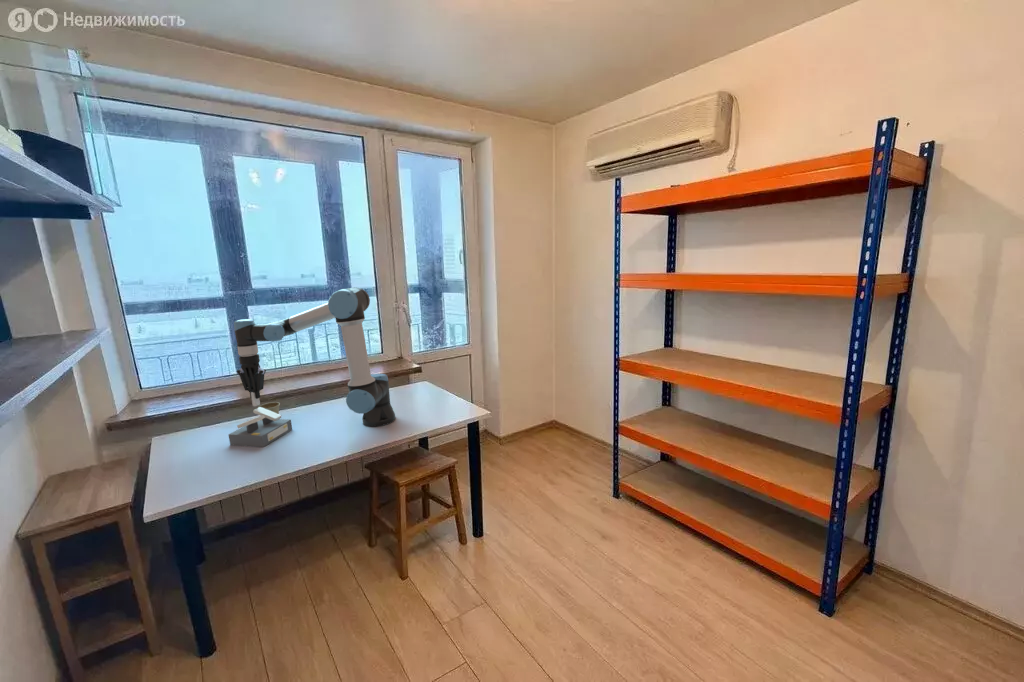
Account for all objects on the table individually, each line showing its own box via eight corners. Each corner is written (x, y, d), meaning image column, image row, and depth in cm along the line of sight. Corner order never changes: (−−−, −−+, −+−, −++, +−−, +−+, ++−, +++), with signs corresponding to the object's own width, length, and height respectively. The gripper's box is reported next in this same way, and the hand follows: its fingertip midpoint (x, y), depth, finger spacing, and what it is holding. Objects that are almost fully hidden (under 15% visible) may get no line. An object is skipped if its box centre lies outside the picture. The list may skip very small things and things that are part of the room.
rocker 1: (265, 417, 178) (263, 414, 178) (258, 421, 174) (256, 418, 174) (245, 424, 181) (244, 422, 180) (238, 428, 177) (236, 425, 177)
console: (293, 429, 191) (290, 413, 189) (264, 447, 173) (261, 429, 172) (261, 428, 193) (259, 411, 192) (230, 445, 176) (227, 427, 174)
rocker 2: (281, 417, 188) (281, 415, 187) (274, 421, 184) (275, 418, 183) (259, 409, 188) (260, 406, 188) (253, 412, 185) (253, 409, 184)
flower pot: (256, 424, 199) (253, 407, 197) (274, 417, 207) (272, 400, 205) (267, 427, 195) (265, 410, 193) (286, 420, 203) (284, 403, 201)
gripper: (268, 352, 184) (275, 402, 188) (242, 352, 186) (250, 401, 191) (255, 356, 177) (263, 408, 181) (228, 356, 179) (237, 407, 183)
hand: (256, 405), depth 186 cm, fingers closed
